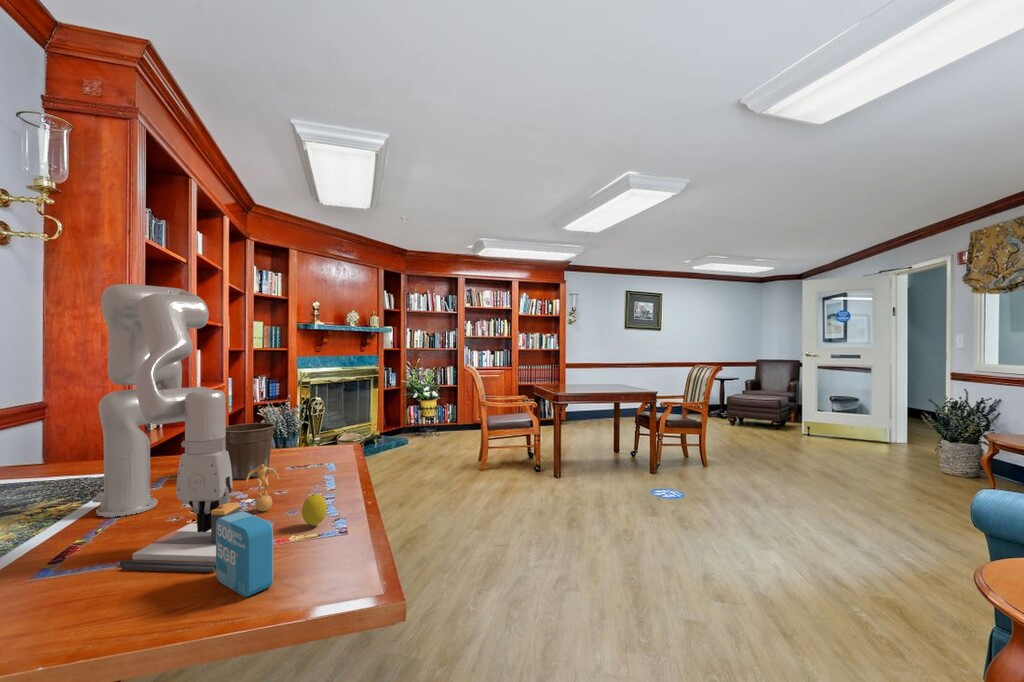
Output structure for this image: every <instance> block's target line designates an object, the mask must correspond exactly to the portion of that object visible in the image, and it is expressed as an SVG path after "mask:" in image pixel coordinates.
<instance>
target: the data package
mask: <svg viewBox="0 0 1024 682" xmlns="http://www.w3.org/2000/svg"><path fill="white" fill-rule="evenodd" d="M273 529H274V528H273V525H272V523H271V522H270V521H268V520H266V519H263V518H261V517H259V516H256V515H253V514H251V513H249V512H246V511H244V510H242V511H239V512H238V513H235V514H231V515H228V516H224V517H221V518H219V519H218V520H217V522H216V562H215V563H216V569H215V573H216V574H215V575H216V579H217V580H218V582H219V583H220V584H222V585H224V586H225V587H227V588H228V589H231V590H232V591H234V592H236V593H237V594H238V595H240V596H241V597H243V598H248V597H250V596H252V595H254V594H257V593H259V592H261V591H263V590H264V591H265V590H266V589H268V588H270V587H272V585H273V583H274V530H273Z"/></svg>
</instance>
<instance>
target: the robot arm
mask: <svg viewBox="0 0 1024 682" xmlns="http://www.w3.org/2000/svg"><path fill="white" fill-rule="evenodd" d="M100 300H101V302H100V306H101V311H102V316H103V319H104V321H105V323H106V327H107V331H108V342H107V344H108V345H107V346H108V347H107V352H108V353H107V373H108V374H107V375H108V379H109V381H110V382H111V383H112V384H115V385H118V386H135V389H134V388H133V389H124V390H116V391H112V392H109V393H106V394H105V395H103V397H102V398H101V399H100V401H99V403H98V412H99V413H98V415H99V419H100V422H101V423H100V424H101V427H102V435H103V437H102V438H103V439H102V440H103V492H98V493H97V494H96V496H93V498H92V499H91V501H92V503H100V504H99V507H98V508H96V511H95V514H97V515H98V517H99V516H105V517H104V518H108V517H109V518H118V517H117V516H121V517H125V515H127V516H132V515H136V513H137V514H139V513H143V512H147V511H149V510H151V509H153V508H155V507H156V506H157V505H158V499H157V498H154V497H151V443H150V442H151V441H150V438H149V437H148V435H147V434H146V433H145V432H144V431H143V430H141V429H140V428H139V426H142V425H145V424H146V425H147V424H153V425H165V424H172V423H178V422H184V440H183V441H181V444H180V445H181V447H182V448H184V453H182V454H181V455H180V458H179V461H178V462H179V463H178V469H177V477H176V490H175V491H176V493H175V495H176V498H177V499H178V500H179V501H180V502H181V503H182V504H185V505H190V507H191V508H192V509H193V513H194V514H196V524H197V532H207V531H208V530H210V529H211V511H212V510H214V509H216V508H218V507H219V506H221V505H223V504H226V503H231V501H232V498H231V494H232V492H233V479H232V469H231V462H230V457H229V453H228V451H226V427H227V426H226V422H227V421H226V420H227V419H226V413H227V411H226V410H227V409H226V408H227V407H226V404H227V403H226V394H225V392H224V391H222V390H220V389H212V388H210V387H208V386H195V387H192V386H191V387H182V383H183V381H182V380H183V364H182V360H184V359H186V358H187V357H188V356H190V355H191V353H193V350H194V345H193V341H192V339H191V337H190V336H191V335H190V332H189V330H188V329H202V328H203V327H205V326H206V325H207V323H208V322H209V317H210V313H209V312H210V311H209V308H208V306H207V304H206V302H205V301H204V300H203V299H202V298H201V297H200V296H199V295H196V294H194V293H191V292H190V291H187V290H185V289H182V288H178V287H167V286H156V285H147V284H145V285H144V284H134V283H133V284H132V283H131V284H129V283H123V284H121V283H119V284H113V285H109V286H107V287H106V288H105V289H104V290H103V293H102V294H101V299H100ZM131 514H132V515H131ZM97 515H96V516H97ZM115 516H116V517H115Z"/></svg>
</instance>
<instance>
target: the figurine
mask: <svg viewBox="0 0 1024 682" xmlns="http://www.w3.org/2000/svg"><path fill="white" fill-rule="evenodd" d="M266 470H269V472H273V474H274V475H275V476H276V477H277V479H278V481H280V477H279V474H278V473H277V471H276V470H275V469H273V468H271V467H269V468H268V467H265V466H264V464H261V465H260V466H258V467H257V468H256V469H254V470H253V471H251V472H250V473H249V474H248V476H247V479H245V482H244V486H245V487H247V486H248V484H249V482H248V481H249V480H250V478H249V476H250V475H251V474H253V473H254V472H257V474H258V476H259V477H256V484H257V487H258V488H257V491H258V494H259V495H258V498H257V499H256V501H255V508H256V510H257V511H259V512H266V511H268V510H270V509H271V508H272V506H273V499H272V497H270V496H269V494H268V491H267V490H268V487H269V481H268V479H269V477H268V476H266V475H265V473H266ZM262 482H263V483H262ZM263 484H264V485H265V487H264V495H262V491H261V490H262V488H261V487H262V485H263Z"/></svg>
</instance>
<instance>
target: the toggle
mask: <svg viewBox="0 0 1024 682" xmlns="http://www.w3.org/2000/svg"><path fill="white" fill-rule="evenodd" d="M238 512H240V502H228V503H226V504H223V505H220V506H219V507H218V508H216V509H214V510H212V511H211V542H214V543H216V522H217V520H218V519H219V518H221V517H224V516H228V515H231V514H235V513H238Z"/></svg>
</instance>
